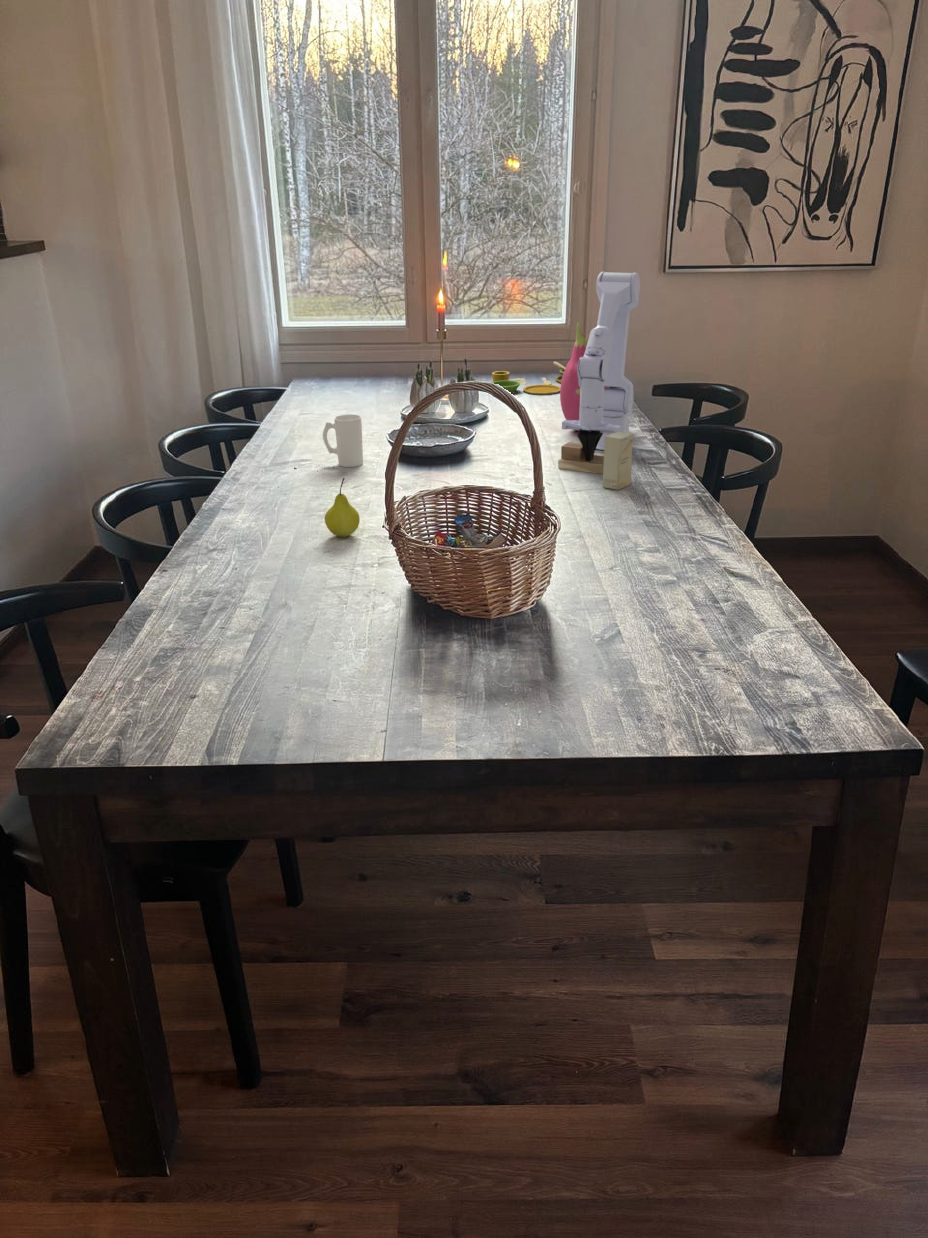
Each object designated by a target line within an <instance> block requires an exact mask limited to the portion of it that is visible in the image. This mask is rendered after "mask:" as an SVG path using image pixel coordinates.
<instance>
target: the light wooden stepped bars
mask: <svg viewBox="0 0 928 1238" xmlns="http://www.w3.org/2000/svg"><path fill="white" fill-rule="evenodd" d="M557 463H558V464H557V468H558V469H562V470H568V471H577V472H585V473H590V474H591V473H593V474H599V475H600V474H601V475H603V467H604V454H600V453H594V457H593V460H592V461H587V463H586V462H578V461H571V460H563V459H561V458H560V459H558V462H557Z"/></svg>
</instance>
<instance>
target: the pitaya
mask: <svg viewBox="0 0 928 1238" xmlns="http://www.w3.org/2000/svg"><path fill="white" fill-rule="evenodd" d="M575 336H576V337H575V343H574V345H573V350H572V352H571V357H570V360H569V361H568V362H567V364H566V366H565V371H564V373H563V376H562V375H561V376H562V381H561V383H560V386H559V387H560V392H559V397H560V398H559V400H560V401H559V402H560V405H561V410H562V411H561V412H562V414H563V417H564V420H579V413H580V387H579V379H578V373H577V369H578V362H579V359H580V357H584V354H585V350H586V347H587V343H588V339H587V338H585V336H583V334H582V331H581V322H580V321H578V322H577V323H576V335H575ZM604 388H611V386H605V387H604ZM576 431H578V432H579V430H576Z"/></svg>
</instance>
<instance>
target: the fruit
mask: <svg viewBox="0 0 928 1238" xmlns="http://www.w3.org/2000/svg"><path fill="white" fill-rule="evenodd" d="M344 481H345V477H343V478H342V481H341V485H340V489H339V493H338V494H337V495H336V496H335V498H334V502H333V504H332V506H330V508H329V509H328V510H327V511H326V513H325V515H324V518H323V519H324V523H325V527H326V529H328V530H329V532H330V533H331V534H333V535H335V536H336V537H338V538H347V537H350V536H351V535H353V534H354V533H355V532H356V530H357V529H358V528H359V525H360V520H361V519H360V514H359V512H358V510H357V509H356V508H355V507H353V506H352V505H351V503H350V502H349V500H348V497H347V496H346V495H345V493H344V494H343V493H342V488H343V484H344Z"/></svg>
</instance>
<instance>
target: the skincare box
mask: <svg viewBox="0 0 928 1238" xmlns="http://www.w3.org/2000/svg"><path fill="white" fill-rule="evenodd" d="M633 441H634V434H633V433H631V432H629V433H625V432H619V431H617V432H615V433H612V434H610V435H607V436H605V443H604V450H603V455H604V464H603V465H604V467H603V474H602V487H603V488H606V489H610V490H616V491H617V490H618V491H619V490H622V489H623V488H625V487H627V486H629V485H631V483H632V482H631V481H632V463H633V462H632V461H633V444H634V442H633Z"/></svg>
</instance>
